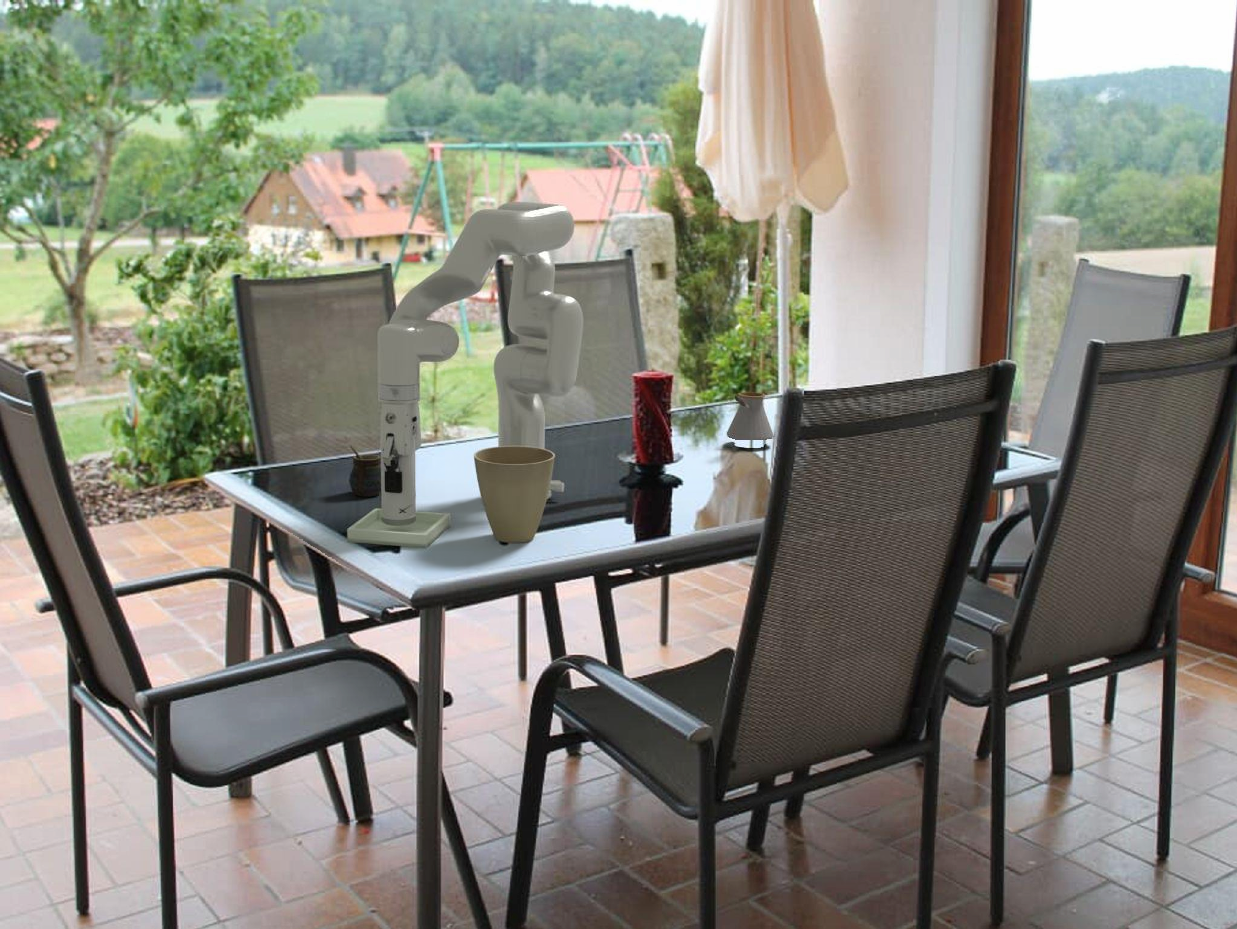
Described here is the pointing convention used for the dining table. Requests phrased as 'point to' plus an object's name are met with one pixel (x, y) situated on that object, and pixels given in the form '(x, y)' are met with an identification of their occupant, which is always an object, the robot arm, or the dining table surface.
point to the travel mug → (403, 504)
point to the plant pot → (514, 489)
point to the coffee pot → (750, 419)
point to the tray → (399, 530)
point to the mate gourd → (366, 475)
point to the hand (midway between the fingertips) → (399, 487)
